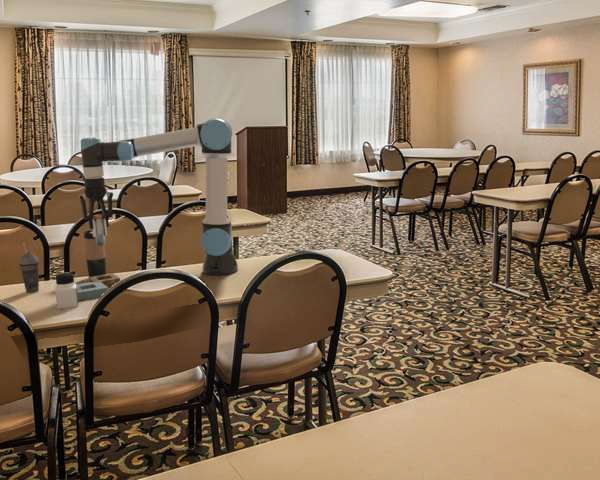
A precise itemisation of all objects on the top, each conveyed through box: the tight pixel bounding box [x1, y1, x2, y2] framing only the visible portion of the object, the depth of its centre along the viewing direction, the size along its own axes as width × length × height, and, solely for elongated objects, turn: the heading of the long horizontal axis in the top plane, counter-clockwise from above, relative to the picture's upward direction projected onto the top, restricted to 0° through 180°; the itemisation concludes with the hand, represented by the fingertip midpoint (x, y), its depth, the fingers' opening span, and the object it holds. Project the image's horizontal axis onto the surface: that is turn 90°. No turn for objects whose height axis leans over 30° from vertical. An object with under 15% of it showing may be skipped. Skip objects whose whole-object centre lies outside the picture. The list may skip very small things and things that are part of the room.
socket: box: [76, 281, 109, 302], centre depth 241 cm, size 12×12×3 cm
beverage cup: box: [18, 241, 40, 294], centre depth 246 cm, size 7×7×20 cm
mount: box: [88, 273, 121, 288], centre depth 254 cm, size 10×10×3 cm
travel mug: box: [83, 229, 107, 277], centre depth 265 cm, size 8×8×20 cm
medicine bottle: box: [54, 271, 79, 310], centre depth 227 cm, size 7×7×12 cm
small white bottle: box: [93, 214, 107, 246], centre depth 250 cm, size 4×4×12 cm
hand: (100, 235), depth 250 cm, fingers closed on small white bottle, 3 cm apart
